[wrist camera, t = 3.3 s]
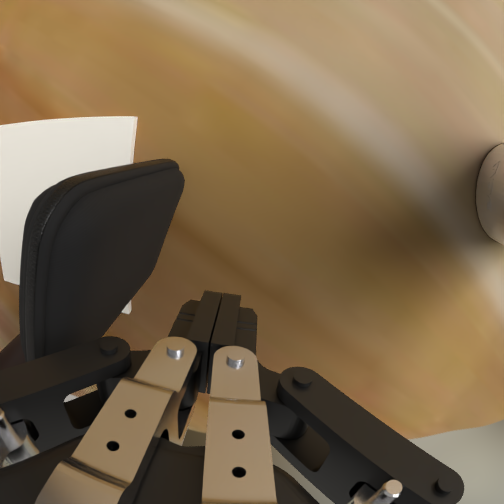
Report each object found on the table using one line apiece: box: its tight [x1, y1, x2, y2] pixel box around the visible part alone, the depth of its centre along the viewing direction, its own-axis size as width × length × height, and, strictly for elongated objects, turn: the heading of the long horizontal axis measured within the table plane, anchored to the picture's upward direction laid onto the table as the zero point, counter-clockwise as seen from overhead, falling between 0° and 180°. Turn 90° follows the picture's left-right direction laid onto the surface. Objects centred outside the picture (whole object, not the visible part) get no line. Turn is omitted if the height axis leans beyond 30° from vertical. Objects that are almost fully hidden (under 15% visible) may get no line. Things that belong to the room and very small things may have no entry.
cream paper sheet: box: [0, 116, 138, 314], centre depth 22 cm, size 16×16×1 cm
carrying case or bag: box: [19, 159, 185, 362], centre depth 16 cm, size 11×3×15 cm, turn 155°
